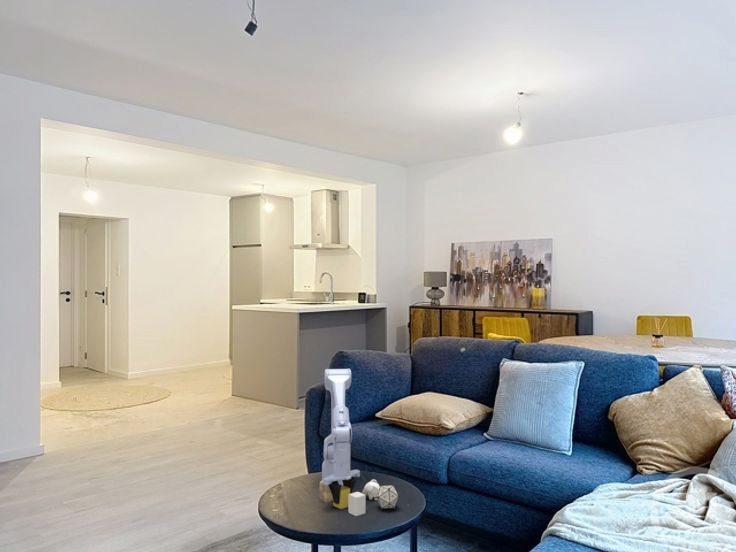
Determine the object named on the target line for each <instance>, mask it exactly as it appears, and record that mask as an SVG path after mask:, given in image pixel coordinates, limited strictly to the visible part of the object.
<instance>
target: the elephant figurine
mask: <svg viewBox="0 0 736 552" xmlns="http://www.w3.org/2000/svg"><path fill="white" fill-rule="evenodd" d="M379 484H380V483H378V481H377V480H376V479H371V480H370V481H368V482H367V483H366V484H365V485H364V488H363V489H362V492H361V493H362V494H365V497H366V496H368V499H369V501H370V500H373V499H374V501H377V499H375V498H374V497H376V496H377V493H378V490H379V488H380V486H379Z"/></svg>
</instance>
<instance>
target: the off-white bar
mask: <svg viewBox="0 0 736 552" xmlns="http://www.w3.org/2000/svg"><path fill="white" fill-rule="evenodd" d="M365 494H366V493H365ZM365 494H363V493H362V492H360V491H355V492H352V493H351V494H348V507H347V508H348V511H347V512H348V514H351V515H353V516H355V517H358V516H361V515H365V514H366V496H365Z"/></svg>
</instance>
